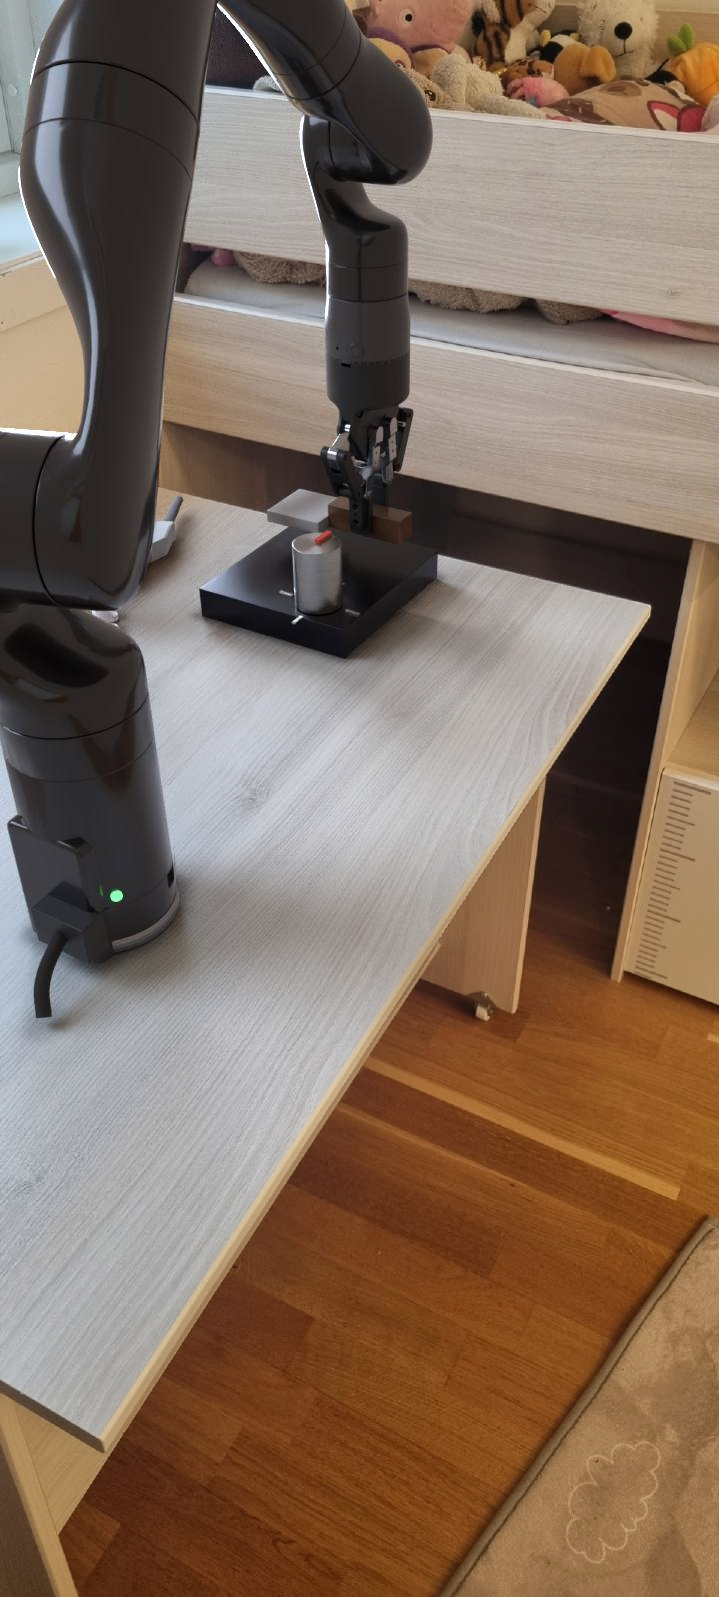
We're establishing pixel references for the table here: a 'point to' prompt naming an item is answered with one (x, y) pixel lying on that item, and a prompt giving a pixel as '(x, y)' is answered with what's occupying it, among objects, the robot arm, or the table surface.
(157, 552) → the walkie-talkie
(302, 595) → the hob knob
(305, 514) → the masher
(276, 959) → the table surface
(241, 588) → the hob
